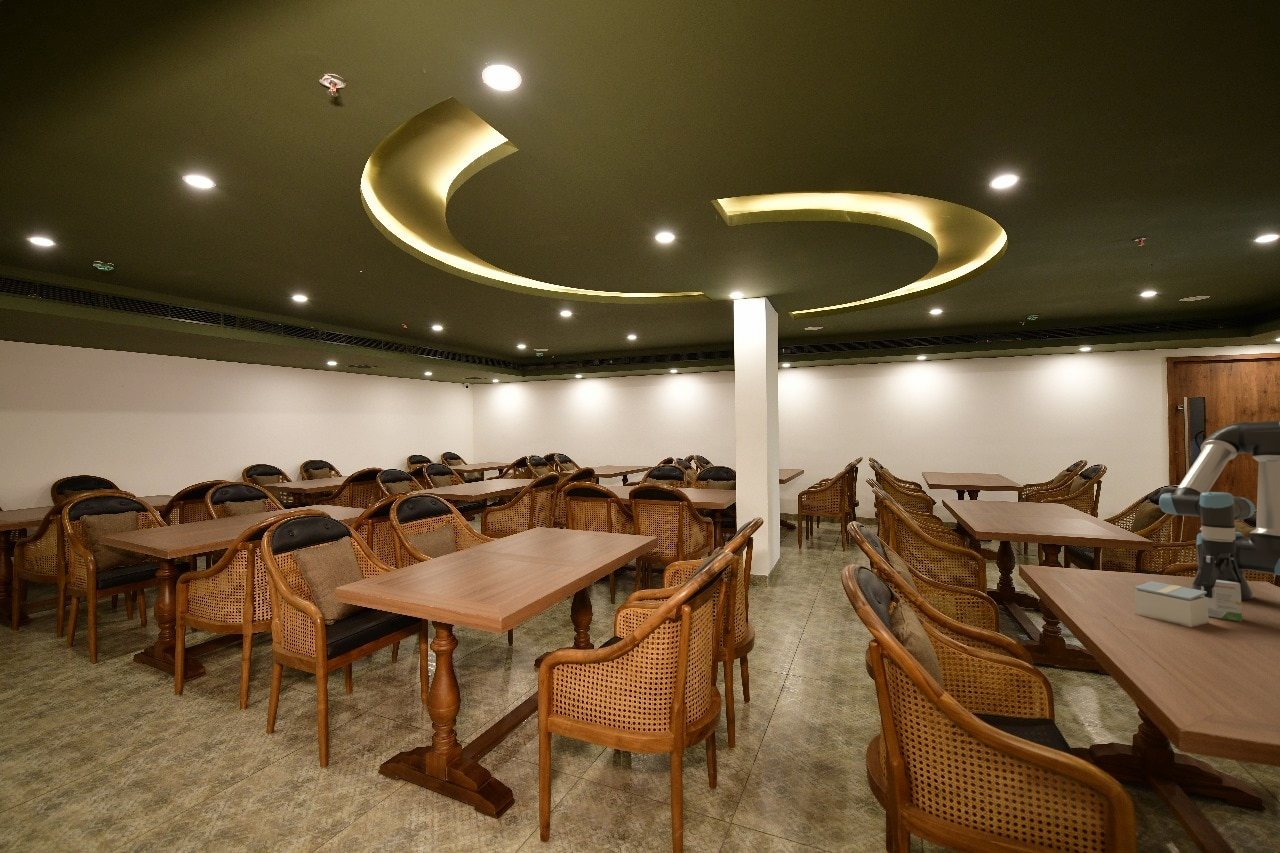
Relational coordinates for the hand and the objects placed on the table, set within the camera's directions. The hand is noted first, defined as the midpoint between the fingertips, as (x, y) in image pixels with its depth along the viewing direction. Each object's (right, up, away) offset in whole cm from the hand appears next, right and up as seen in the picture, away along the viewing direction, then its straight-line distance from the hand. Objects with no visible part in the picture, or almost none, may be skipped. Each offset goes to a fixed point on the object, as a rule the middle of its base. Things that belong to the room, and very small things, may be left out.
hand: (1221, 605), depth 172 cm
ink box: (0, -4, 0) cm, 4 cm away
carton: (-17, -4, 0) cm, 17 cm away
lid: (-17, +5, 0) cm, 18 cm away
